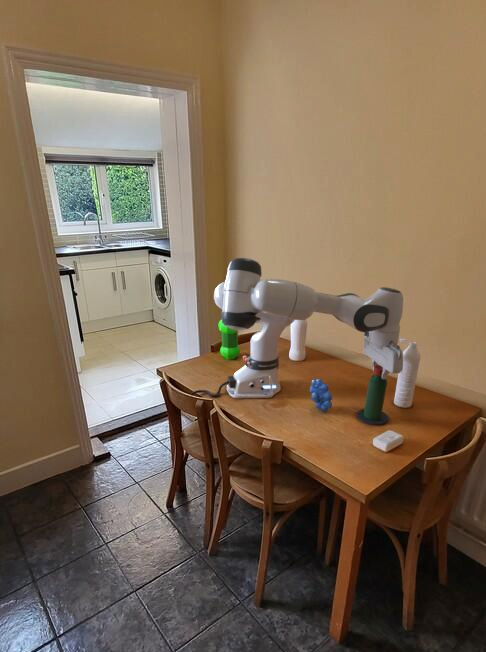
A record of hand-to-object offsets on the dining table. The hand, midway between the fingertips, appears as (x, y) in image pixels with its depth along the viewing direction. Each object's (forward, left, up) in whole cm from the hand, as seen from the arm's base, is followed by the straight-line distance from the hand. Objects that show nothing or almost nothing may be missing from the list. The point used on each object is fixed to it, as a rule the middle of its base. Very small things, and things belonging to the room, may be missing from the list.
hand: (379, 375), depth 141 cm
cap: (0, 0, +3) cm, 3 cm away
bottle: (-7, +62, -17) cm, 65 cm away
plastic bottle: (-39, +71, -17) cm, 83 cm away
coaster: (0, 0, -17) cm, 17 cm away
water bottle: (+16, +8, -17) cm, 24 cm away
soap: (-4, -17, -17) cm, 24 cm away
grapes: (-17, +10, -17) cm, 26 cm away
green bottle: (-1, 0, -16) cm, 16 cm away
